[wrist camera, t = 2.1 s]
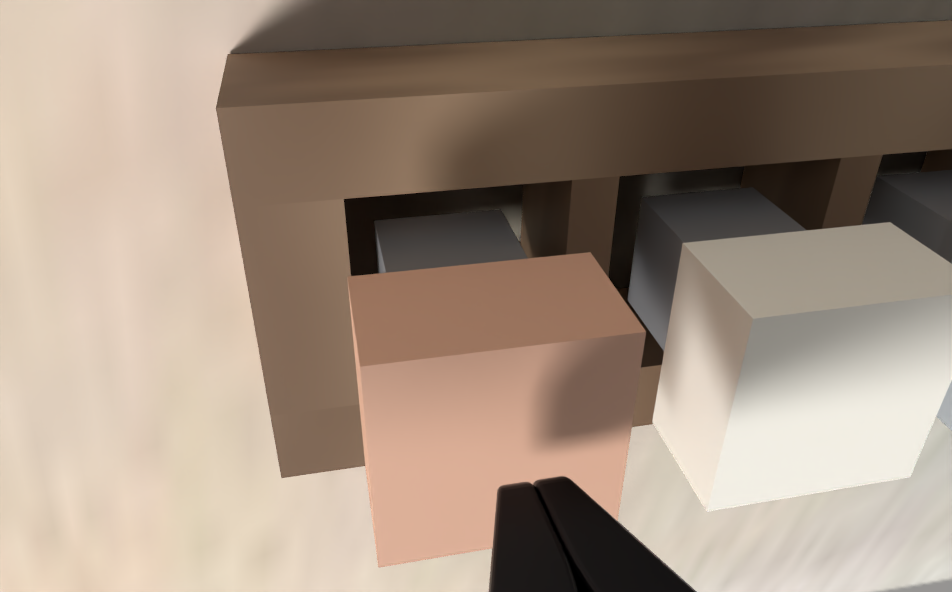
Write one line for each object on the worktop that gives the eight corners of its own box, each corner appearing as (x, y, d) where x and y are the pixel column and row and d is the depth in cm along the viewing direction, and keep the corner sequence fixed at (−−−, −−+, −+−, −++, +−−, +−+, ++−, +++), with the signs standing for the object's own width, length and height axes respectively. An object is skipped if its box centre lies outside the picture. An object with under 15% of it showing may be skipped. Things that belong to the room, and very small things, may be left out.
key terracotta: (535, 174, 13) (646, 332, 9) (527, 337, 15) (616, 526, 11) (334, 190, 13) (360, 366, 9) (351, 358, 14) (378, 567, 10)
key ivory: (789, 154, 14) (990, 289, 10) (752, 310, 16) (910, 477, 12) (613, 168, 13) (752, 318, 9) (595, 328, 15) (706, 511, 11)
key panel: (1039, 16, 16) (1171, 51, 13) (929, 304, 19) (1016, 370, 17) (228, 54, 13) (216, 108, 10) (281, 384, 16) (281, 477, 14)
